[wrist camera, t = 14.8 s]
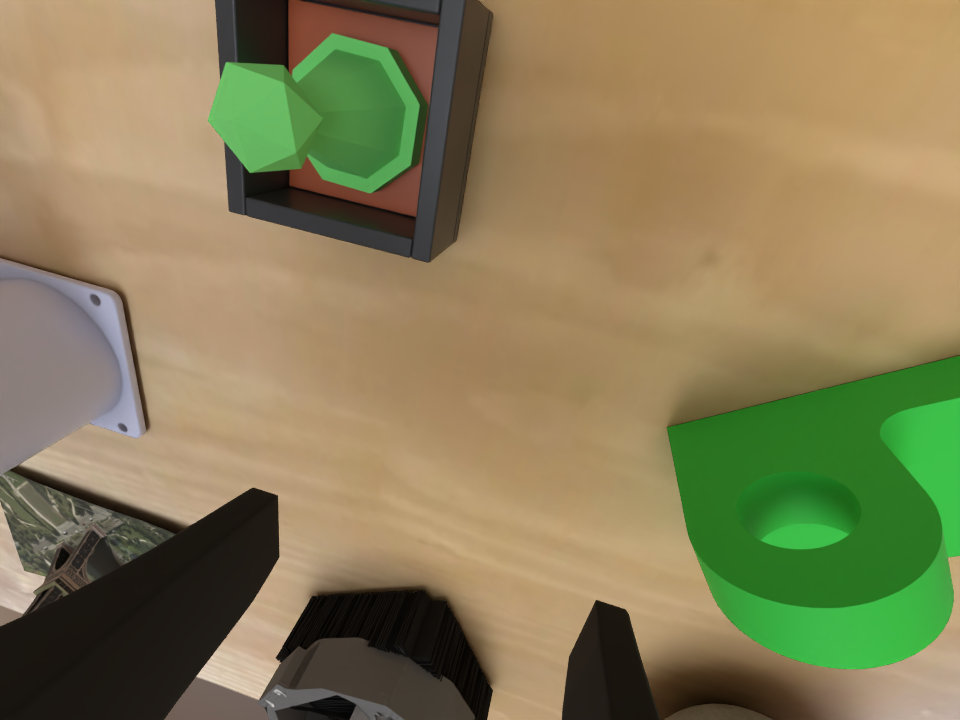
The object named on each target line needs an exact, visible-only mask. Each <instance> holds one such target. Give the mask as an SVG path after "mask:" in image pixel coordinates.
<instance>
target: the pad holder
mask: <svg viewBox="0 0 960 720" xmlns="http://www.w3.org/2000/svg"><path fill="white" fill-rule="evenodd" d="M215 7H216V22H217V37H218V53H219V68H220V80H221V76H222V73H223V70H224V67H225V64H226V62H234V63H253V64H272V65H284V66H285V68H286V69H287V70H288V72H289V73H290V74H291V76H292V71H293V69H294V68H295V67H296V66H297V65H298V64H300V63H301V62H302V61H303V60H304V59H305V58H306V57H307V56H308V55H309V54H310V53H311V52H312V51H314V50H315V49H316V48H317V47H318V46H319V45H320V44H321V43H322V42H323V41H324V40H325V39H326V38H328V37H329V36H330V35H331V34H332V33H334V34H338V35H341V36H345V37H349V38H353V39H357V40H360V41H364V42H368V43H372V44H375V45H379V46H383V47H387V48H390V49H393V50H396V51H398V53H399V54H400V56H401V58H402V60H403V61H404V63H405V65H406V67H407V69H408V70H409V72H410V74H411V76H412V77H413V79H414V81H415V83H416V85H417V86H418V88H419V90H420V92H421V93H422V95H423V97H424V99H425V101H426V102H427V104H428V111H427V117H426V123H425V130H424V136H423V142H422V149H421V155H420V161H419V164H417V165H416V166H414V167H413V168H411V169H410V170H409V171H407V172H406V173H404V174H403V175H401V176H400V177H399V178H397V179H396V180H394V181H393V182H391V183H390V184H389V185H387V186H386V187H384V188H383V189H382V190H380V191H377V192H374V193H371V194H370V193H367V192H363V191H360V190H357V189H353V188H350V187H346V186H343V185H340V184H336V183H333V182H329V181H326V180H323V179H322V178H321V176H320V175H319V173H318V172H317V170H316V169H315V167H314V166H313V164H312V163H311V161H310V160H309V158H308V157H306V159H305V162H304V164H303V166H302V168H301V169H293V170H280V171H267V172H254V173H250V172H249V171H248V170H247V169H246V167H245V166H244V165H243V164H242V162H241V161H240V160H239V159H238V157H237V156H236V155H235V154H234V153H233V151H232V150H231V149H230V148H229V146H228V145H227V144H226V143H225V141H224V144H225V160H226V175H227V190H228V205H229V211H230V212H233V213H237V214H241V215H247V216H249V217H253V218H256V219H260V220H264V221H268V222H272V223H276V224H280V225H284V226H288V227H291V228H295V229H299V230H303V231H307V232H311V233H315V234H319V235H323V236H326V237H330V238H334V239H338V240H342V241H346V242H350V243H354V244H358V245H361V246H365V247H369V248H373V249H377V250H381V251H385V252H389V253H393V254H396V255H400V256H404V257H408V258H410V257H412V258H413V259H416V260H420V261H424V262H427V263H428V262H431V261H432V260H433V259H434V258H435V257H437V256H438V255H439V254H440V253H442V252H443V251H444V250H445V249H446V248H448V247H449V246H450V245H451V244H452V243H454V242H455V241H456V240H457V234H458V228H459V222H460V215H461V209H462V203H463V197H464V191H465V185H466V178H467V172H468V166H469V160H470V154H471V148H472V141H473V135H474V129H475V123H476V117H477V111H478V104H479V98H480V92H481V86H482V80H483V74H484V67H485V61H486V55H487V49H488V43H489V37H490V30H491V24H492V18H493V13H492V12H491V11H490V10H488V9H487V8H486V7H485V6H484V5H483V4H482V3H481V2H480V1H478V0H215Z"/></svg>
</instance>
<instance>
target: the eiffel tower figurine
mask: <svg viewBox="0 0 960 720" xmlns="http://www.w3.org/2000/svg"><path fill="white" fill-rule="evenodd" d="M0 502H1V505H2V508H3V511H4V513H5V516H6V519H7V522H8V525H9V528H10V531H11V534H12V537H13V540H14V543H15V546H16V549H17V552H18V555H19V557H20V560H21V563H22V566H23V568H24V571H27V572H31V573H35V574H38V575H42V576H45V577H46V578H45V581H44V583H43V585H41V586H40V587H39V588H38V589H36V590H35V591H34V592H33V593H34V594H36V595H37V596H36V598H35V599H34V601H33V602H32V604H31V605H30V606H29V608H28V609H27V610H26V612H25V613H24V614H23V616H24V615H27V614H29V613H31V612H33V611H35V610H37V609H39V608H41V607H43V606H45V605H48V604H50V603H52V602H54V601H56V600H58V599H60V598H62V597H64V596H66V595H68V594H70V593H72V592H74V591H75V590H77V589H79V588H81V587H83V586H85V585H87V584H89V583H91V582H93V581H95V580H96V579H98V578H100V577H102V576H104V575H106V574H107V573H109V572H111V571H113V570H115V569H117V568H118V567H120V566H122V565H124V564H126V563H128V562H129V561H131V560H133V559H135V558H137V557H138V556H140V555H142V554H144V553H145V552H147V551H149V550H150V549H152V548H154V547H156V546H157V545H159V544H161V543H162V542H164V541H166V540H167V539H169V538H171V537H172V536H174V535H176V534H174V533H172V532H169V531H167V530H164V529H162V528H160V527H157V526H154V525H152V524H149V523H147V522H144V521H141V520H139V519H136V518H133V517H130V516H127V515H124V514H121V513H118V512H115V511H112V510H109V509H106V508H103V507H100V506H97V505H95V504H92V503H89V502H86V501H84V500H81V499H78V498H76V497H73V496H70V495H68V494H65V493H62V492H60V491H57V490H55V489H52V488H49V487H47V486H44V485H42V484H39V483H37V482H34V481H32V480H29V479H27V478H25V477H23V476H20V475H18V474H16V473H14V472H12V471H10V470H9V471H7V472H5V473H3V474H2V475H0Z"/></svg>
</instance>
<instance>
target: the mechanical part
mask: <svg viewBox="0 0 960 720" xmlns="http://www.w3.org/2000/svg"><path fill="white" fill-rule="evenodd" d="M667 430H668V435H669V441H670V446H671V451H672V456H673V461H674V466H675V471H676V476H677V481H678V486H679V491H680V496H681V501H682V506H683V511H684V517H685V522H686V527H687V531H688V535H689V539H690V541H691V544H692V546H693V549H694V551H695V554H696V556H697V558H698V561H699V563H700V566H701V568H702V571H703V573H704V576H705V578H706V581H707V583H708V586H709V588H710V591H711V593H712V595H713V598H714V599H715V601H716V603H717V605H718V606H719V608H720V609H721V610H722V612H723V613H724V614H725V615H726V617H727V618H728V619H729V620H730V621H731V622H732V623H733V624H734V625H735V626H736V627H737V628H738V629H739V630H741V631H742V632H743V633H744V634H746V635H747V636H748V637H750V638H751V639H753V640H754V641H756V642H757V643H759V644H761V645H762V646H764V647H766V648H768V649H770V650H772V651H774V652H776V653H779V654H781V655H783V656H786V657H788V658H791V659H794V660H797V661H800V662H804V663H808V664H812V665H817V666H823V667H828V668H839V669H866V668H875V667H879V666H884V665H889V664H892V663H895V662H898V661H901V660H904V659H906V658H908V657H910V656H912V655H915V654H916V653H918V652H919V651H921V650H923V649H924V648H926V647H927V646H928V645H929V644H930V643H932V642H933V641H934V640H935V639H936V638H937V637H938V636H939V634H940V633H941V632H942V631H943V629H944V627H945V626H946V624H947V622H948V620H949V618H950V615H951V612H952V607H953V602H954V591H953V585H952V579H951V574H950V568H949V562H948V557H954V556H960V356H956V357H952V358H948V359H944V360H940V361H936V362H932V363H928V364H924V365H920V366H915V367H911V368H907V369H903V370H899V371H895V372H891V373H887V374H883V375H879V376H875V377H871V378H867V379H863V380H858V381H854V382H850V383H846V384H842V385H838V386H834V387H830V388H826V389H822V390H818V391H814V392H810V393H805V394H801V395H797V396H793V397H789V398H785V399H781V400H777V401H773V402H769V403H765V404H761V405H757V406H753V407H748V408H744V409H740V410H736V411H732V412H728V413H724V414H720V415H716V416H712V417H708V418H704V419H700V420H696V421H691V422H687V423H683V424H679V425H675V426H671V427H667Z"/></svg>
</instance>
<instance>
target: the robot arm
mask: <svg viewBox="0 0 960 720" xmlns="http://www.w3.org/2000/svg"><path fill="white" fill-rule="evenodd" d="M88 423H90V424H93V425H96V426H99V427H102V428H105V429H108V430H111V431H114V432H118V433H121V434H124V435H127V436H130V437H133V438H139V437H141V436H142V435H144V434H145V433H146V427H145V421H144V416H143V411H142V405H141V400H140V394H139V389H138V384H137V378H136V373H135V368H134V362H133V357H132V352H131V346H130V341H129V336H128V330H127V325H126V319H125V314H124V309H123V303H122V300H121V298H120V296H119V295H118V294H117V293H116V292H114V291H112V290H110V289H107V288H103V287H100V286H96V285H93V284H89V283H86V282H82V281H79V280H75V279H72V278H68V277H65V276H61V275H58V274H54V273H51V272H47V271H44V270H40V269H37V268H33V267H30V266H26V265H23V264H19V263H16V262H12V261H9V260H5V259H2V258H0V475H2V474H3V473H5V472H7V471H9V470H10V469H12V468H14V467H15V466H17V465H19V464H20V463H22V462H24V461H25V460H27V459H29V458H31V457H32V456H34V455H36V454H37V453H39V452H41V451H42V450H44V449H46V448H47V447H49V446H51V445H53V444H54V443H56V442H58V441H59V440H61V439H63V438H64V437H66V436H68V435H69V434H71V433H73V432H75V431H76V430H78V429H80V428H81V427H83V426H85V425H86V424H88ZM278 558H279V522H278V495H275V494H272V493H269V492H265V491H262V490H259V489H256V488H251V489H249V490H248V491H246V492H244V493H243V494H241V495H239V496H238V497H236V498H235V499H233V500H231V501H230V502H228V503H227V504H225V505H223V506H222V507H220V508H218V509H217V510H215V511H214V512H212V513H210V514H209V515H207V516H206V517H204V518H202V519H201V520H199V521H197V522H196V523H194V524H192V525H191V526H189V527H188V528H186V529H184V530H183V531H181V532H179V533H178V534H176V535H174V536H172V537H171V538H169V539H167V540H166V541H164V542H162V543H161V544H159V545H157V546H156V547H154V548H152V549H150V550H149V551H147V552H145V553H144V554H142V555H140V556H138V557H137V558H135V559H133V560H131V561H129V562H128V563H126V564H124V565H122V566H120V567H118V568H117V569H115V570H113V571H111V572H109V573H107V574H106V575H104V576H102V577H100V578H98V579H96V580H95V581H93V582H91V583H89V584H87V585H85V586H83V587H81V588H79V589H77V590H75V591H74V592H72V593H70V594H68V595H66V596H64V597H62V598H60V599H58V600H56V601H54V602H52V603H50V604H48V605H45V606H43V607H41V608H39V609H37V610H35V611H33V612H31V613H29V614H27V615H24V616H22V617H21V618H18V619H16V620H14V621H12V622H9V623H7V624H5V625H3V626H0V720H164V719H165V718H166V716H167V715H168V713H169V712H170V711H171V709H172V708H173V706H174V705H175V704H176V702H177V701H178V699H179V698H180V697H181V695H182V694H183V693H184V692H185V690H186V689H187V688H188V686H189V685H190V684H191V682H192V681H193V680H194V678H195V677H196V676H197V675H198V673H199V672H200V671H201V669H202V668H203V667H204V665H205V664H206V663H207V661H208V660H209V659H210V657H211V656H212V655H213V654H214V652H215V651H216V650H217V648H218V647H219V646H220V644H221V643H222V642H223V640H224V639H225V638H226V636H227V635H228V634H229V632H230V631H231V630H232V628H233V627H234V626H235V624H236V623H237V622H238V620H239V619H240V618H241V616H242V615H243V614H244V612H245V611H246V610H247V608H248V607H249V606H250V604H251V603H252V602H253V600H254V599H255V597H256V595H257V594H258V592H259V590H260V589H261V587H262V586H263V584H264V582H265V581H266V579H267V577H268V576H269V574H270V572H271V570H272V569H273V567H274V565H275V564H276V562H277V560H278ZM562 720H661V718H660V716H659V713H658V710H657V707H656V704H655V701H654V698H653V695H652V692H651V689H650V686H649V683H648V679H647V676H646V673H645V670H644V667H643V663H642V660H641V657H640V653H639V650H638V646H637V643H636V639H635V636H634V632H633V629H632V625H631V621H630V617H629V614H628V613H627V611H626V610H625V609H622V608H619V607H616V606H613V605H610V604H607V603H604V602H601V601H598V600H596V601H595V604H594V606H593V608H592V610H591V612H590V614H589V616H588V618H587V620H586V622H585V625H584V627H583V629H582V631H581V633H580V635H579V637H578V639H577V641H576V643H575V646H574V648H573V650H572V652H571V654H570V656H569V662H568V670H567V678H566V685H565V694H564V702H563V711H562Z"/></svg>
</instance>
